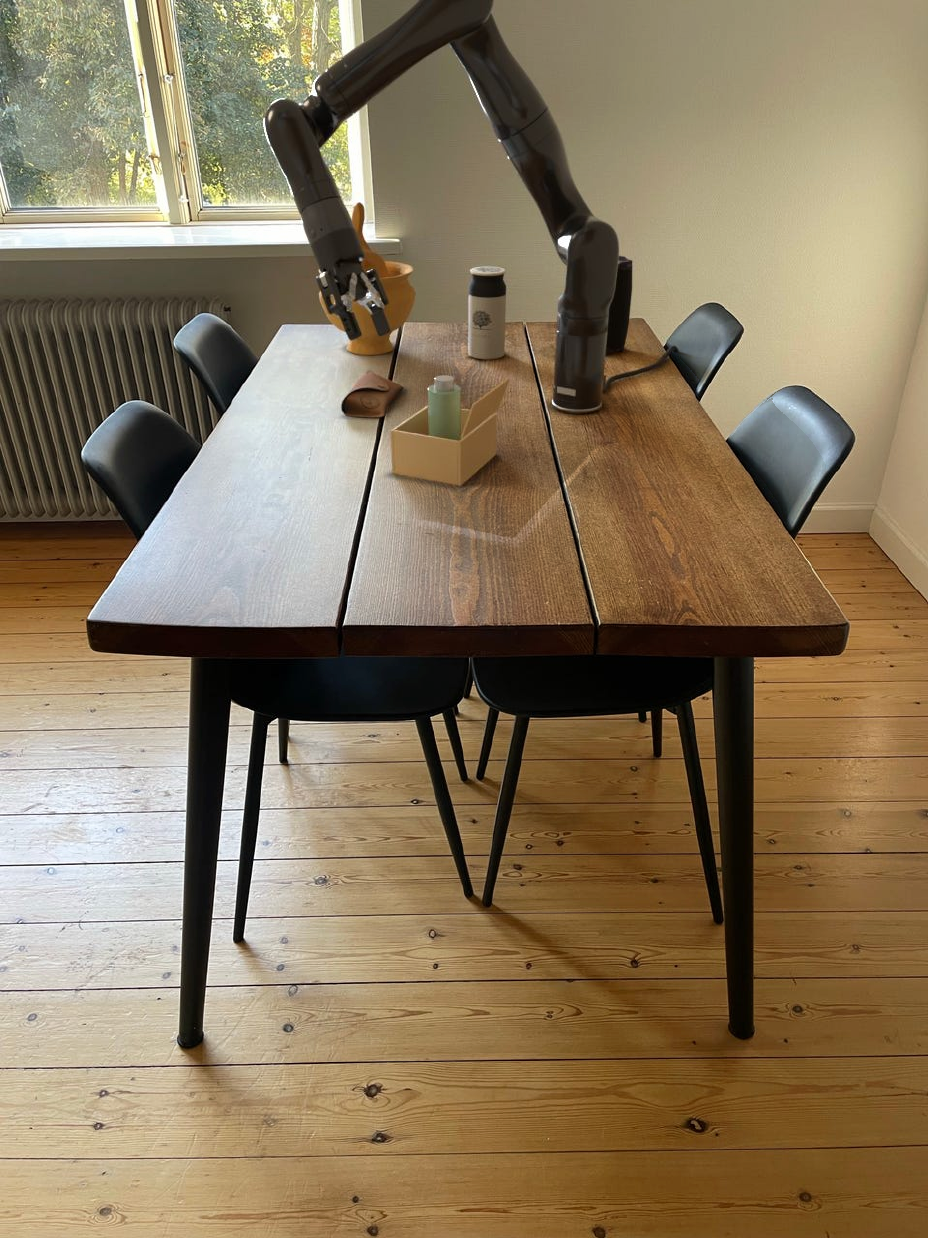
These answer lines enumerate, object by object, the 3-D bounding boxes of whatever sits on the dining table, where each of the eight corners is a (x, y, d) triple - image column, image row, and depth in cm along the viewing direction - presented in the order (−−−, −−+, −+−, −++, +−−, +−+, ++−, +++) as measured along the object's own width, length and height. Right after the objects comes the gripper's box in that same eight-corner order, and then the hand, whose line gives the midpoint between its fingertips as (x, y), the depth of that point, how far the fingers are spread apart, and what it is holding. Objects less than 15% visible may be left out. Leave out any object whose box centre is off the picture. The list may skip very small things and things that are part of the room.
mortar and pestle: (414, 362, 199) (410, 211, 183) (316, 361, 199) (304, 211, 184) (419, 336, 217) (416, 197, 201) (330, 335, 217) (319, 196, 201)
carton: (431, 445, 157) (430, 403, 153) (495, 457, 153) (496, 413, 149) (392, 475, 147) (390, 430, 143) (460, 488, 142) (460, 442, 138)
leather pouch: (386, 416, 168) (366, 384, 166) (355, 433, 171) (335, 402, 168) (405, 385, 184) (387, 356, 181) (377, 401, 186) (358, 373, 184)
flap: (508, 377, 145) (510, 378, 145) (496, 409, 149) (497, 410, 149) (472, 403, 134) (474, 404, 134) (460, 437, 138) (461, 438, 138)
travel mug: (481, 348, 208) (483, 264, 199) (511, 354, 204) (513, 268, 195) (461, 356, 203) (461, 270, 193) (491, 362, 199) (492, 275, 189)
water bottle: (437, 455, 153) (436, 371, 145) (466, 460, 151) (466, 375, 143) (423, 466, 148) (421, 380, 141) (452, 471, 147) (452, 385, 139)
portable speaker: (583, 354, 205) (589, 261, 194) (592, 343, 212) (598, 253, 202) (622, 357, 202) (630, 263, 192) (629, 346, 210) (638, 255, 200)
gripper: (323, 224, 137) (364, 330, 139) (374, 226, 148) (411, 324, 151) (287, 246, 141) (328, 349, 144) (340, 246, 153) (377, 341, 155)
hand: (371, 336), depth 147 cm, fingers open, 8 cm apart
